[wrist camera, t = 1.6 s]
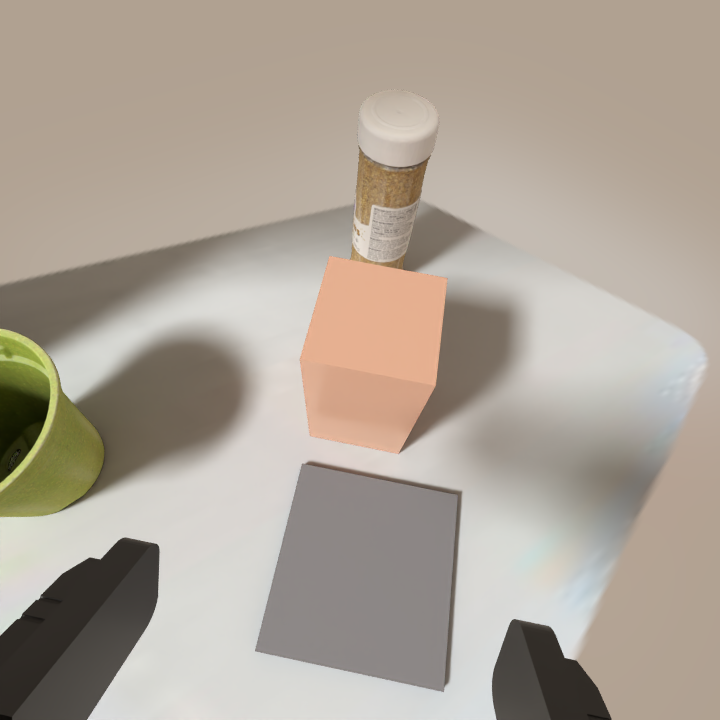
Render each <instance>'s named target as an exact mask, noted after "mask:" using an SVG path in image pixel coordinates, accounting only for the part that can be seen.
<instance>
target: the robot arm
mask: <svg viewBox="0 0 720 720" xmlns="http://www.w3.org/2000/svg"><path fill="white" fill-rule="evenodd" d="M158 578H159V546H158V545H157V544H154V543H149V542H144V541H140V540H135V539H130V538H122V539H120V540H119V541H118V542H117V543H116V544H115V545H114V546H113V547H112V548H111V549H110V550H109V551H108V552H107V553H106V554H105V555H104V557H103V558H102V559H101V560H99V559H95V558H88V559H87V560H85V561H83V562H81V563H80V564H78V565H76V566H75V567H73V568H71V569H70V570H68V571H66V572H65V573H63V574H62V575H61V576H60V577H59V578H58V579H57V580H56V581H55V582H54V583H53V584H52V585H51V586H50V587H49V588H48V589H47V590H46V591H45V592H44V593H43V594H42V595H41V597H40V599H39V600H36V601H35V602H34V603H33V604H32V605H31V606H30V607H29V608H28V609H27V610H26V611H25V612H24V613H23V614H22V616H21V618H20V619H17V620H16V621H15V622H14V623H13V624H12V625H11V626H10V627H9V628H8V629H7V630H6V631H5V632H4V633H3V634H2V635H1V636H0V720H87V719H88V717H89V716H90V714H91V713H92V711H93V709H94V708H95V706H96V705H97V703H98V702H99V700H100V699H101V697H102V696H103V694H104V693H105V691H106V689H107V688H108V686H109V685H110V683H111V682H112V680H113V679H114V677H115V676H116V674H117V672H118V671H119V669H120V668H121V666H122V665H123V663H124V662H125V660H126V659H127V657H128V655H129V654H130V652H131V651H132V649H133V648H134V646H135V645H136V643H137V642H138V640H139V638H140V637H141V635H142V634H143V632H144V631H145V629H146V628H147V626H148V624H149V622H150V620H151V618H152V615H153V613H154V610H155V607H156V603H157V598H158ZM492 696H493V704H494V709H495V714H496V719H497V720H611V717H610V714H609V712H608V710H607V708H606V705H605V703H604V701H603V699H602V697H601V694H600V692H599V690H598V688H597V687H596V685H595V684H594V683H593V681H592V680H591V679H590V677H589V676H588V675H587V674H586V672H585V671H584V670H583V668H582V667H581V666H580V665H579V663H578V662H577V661H576V660H571V659H566V658H564V655H563V653H562V650H561V648H560V645H559V643H558V640H557V638H556V635H555V633H554V631H553V630H552V629H551V627H549V626H545V625H540V624H535V623H531V622H526V621H521V620H516V619H514V620H512V621H511V623H510V625H509V627H508V630H507V633H506V636H505V639H504V642H503V645H502V647H501V650H500V653H499V656H498V659H497V662H496V665H495V668H494V672H493V679H492Z"/></svg>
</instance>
